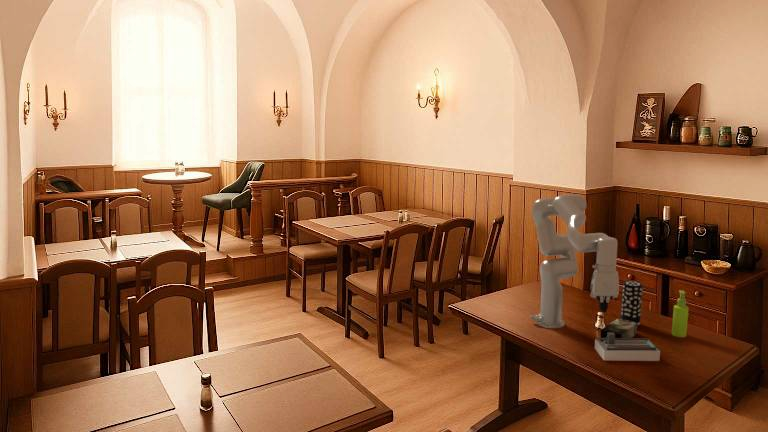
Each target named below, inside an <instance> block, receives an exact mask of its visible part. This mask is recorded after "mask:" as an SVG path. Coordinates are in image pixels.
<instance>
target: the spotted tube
mask: <svg viewBox="0 0 768 432" xmlns="http://www.w3.org/2000/svg"><path fill="white" fill-rule="evenodd" d="M622 284H623V285H622V296H621V312H620V319H621V320H629V321H630V322H635V323H637V328H639V327H640V326H641V315H642V313H641V312H642V303H643V301H642V300H643V298H642V297H643V287H644V285H643V283H642V282H640V281H635V280H625V281H623V283H622Z"/></svg>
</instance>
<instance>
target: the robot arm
mask: <svg viewBox="0 0 768 432" xmlns="http://www.w3.org/2000/svg"><path fill="white" fill-rule="evenodd" d="M586 200H587V199H585V197H584V196H583V195H582V194H580V193H573V194H561V195H558V196H555V197H543V198H539V199H537V200H535V201H534V202H533V203H532V205H531V217H532V219H533V222H534V225H535V228H536V234H537V239H538V246H539V250H540V253H541V254H542V255H543V256H545V257H554V256H560V257H559V258H558V257H555V258H550V259H549V258H548V259H545V260H543V261H542V262H541V263H540V264H539V265H540V266H539V272H540V279H541V280H540V281H541V288H540V289H541V291H540V294H541V295H540V312H538V314H536V315H533V314H531V315H529V318H530V320H533V321H535V322H536V325H538V326H539V327H542V328H545V329H551V330H552V329H562V328H563V327H564V326H565V321H564V320H563V319H562V314H563V313H562V312H563V310H562V309H563V286H562V284H561V282H560V281H559V280H561V279H570V278H573V277H575V276H576V275H577V274H578V270H579V268H578V266H579V264H578V259H577V255H576V251H577V252H579V253H592V252H593V253H594V252H596V260H595V261H596V262H595V264H592V269H594V271H593V273H592V276H591V283H590V297H591V298H593V299H597V300H598V309H599V311H600V312H601V313H607V310H608V308H609V303H610V301H611V300H612V299H616V298H618V297H619V293H620V278H619V271H617V258H618V245H619V244H618V239H617V238H616V237H611V236H608V234H607V233H604V232H595V233H594V232H593V233H582V232H580V230H579V229H580V228H581V227H582V226H583V225H584V224H585V223H586V221H587V216H586V214H585V213H584V211H585V210H586V209H587V201H586ZM556 216H560V218H561V219H562V220H563V221H564V223H566V225H567V226H566V234H557V228H556V224H555V223H554V221H553V220H552V219H551V218H550V217H556Z"/></svg>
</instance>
